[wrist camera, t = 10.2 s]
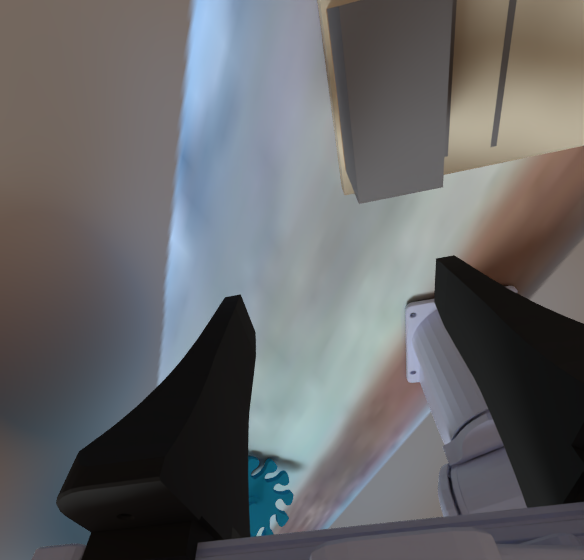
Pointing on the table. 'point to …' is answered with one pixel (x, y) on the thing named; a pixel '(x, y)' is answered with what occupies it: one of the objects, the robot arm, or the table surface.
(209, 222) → the table surface
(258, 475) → the gear
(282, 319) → the table surface
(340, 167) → the plank
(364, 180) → the block
